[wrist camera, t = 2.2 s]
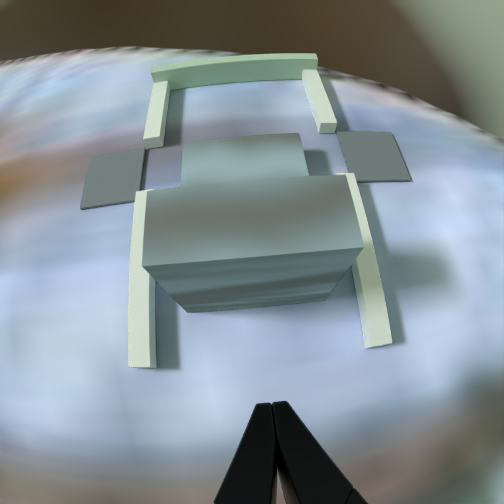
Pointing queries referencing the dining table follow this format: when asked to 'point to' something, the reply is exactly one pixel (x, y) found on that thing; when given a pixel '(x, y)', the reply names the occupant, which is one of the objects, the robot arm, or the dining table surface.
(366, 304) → the pale green open frame
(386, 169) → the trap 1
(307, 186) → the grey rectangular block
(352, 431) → the dining table surface
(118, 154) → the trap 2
